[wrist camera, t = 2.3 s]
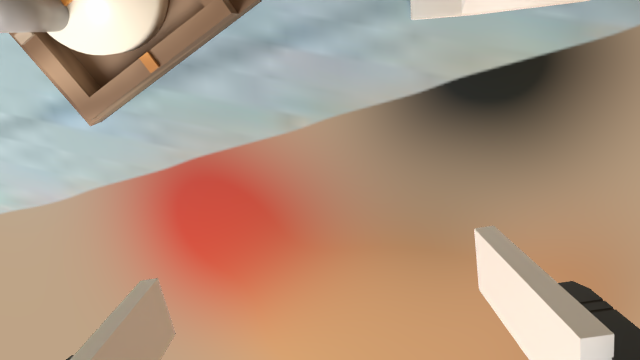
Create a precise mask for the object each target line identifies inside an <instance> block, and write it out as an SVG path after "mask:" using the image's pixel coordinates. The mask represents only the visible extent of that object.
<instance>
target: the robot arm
mask: <svg viewBox="0 0 640 360" xmlns="http://www.w3.org/2000/svg"><path fill="white" fill-rule="evenodd" d="M474 231H475V244H476V257H477V269H478V283H479V290H480V291H481V293H482V294H483V296H484V297H485V298H486V300H487V301H488V303H489V304H490V305H491V307H492V308H493V310H494V311H495V312H496V314H497V315H498V317H499V318H500V319H501V321H502V322H503V324H504V325H505V326H506V328H507V329H508V331H509V332H510V333H511V335H512V336H513V338H514V339H515V340H516V342H517V343H518V345H519V346H520V347H521V349H522V350H523V352H524V353H525V354H526V356H527V357H528V359H529V360H640V329H639V328H638V327H636V326H635V325H634V324H633V323H631V322H630V321H629V320H628V319H627V318H625V317H624V316H623V315H622V314H620V313H619V312H618V311H617V310H614V309H613V307H612V306H610V305H609V304H608V303H607V302H605V301H603V299H602V298H601V297H599V296H598V295H597V294H596V293H594V292H593V291H592V290H591V289H589V288H587V287H585V286H582V285H580V284H578V283H576V282H573V281H570V282H563V283H557V282H556V281H555V280H554V279H552V278H551V277H550V276H549V275H548V274H547V273H546V272H545V271H544V270H542V269H541V268H540V267H539V266H538V265H537V264H536V263H535V262H533V261H532V260H531V259H530V258H529V257H528V256H527V255H526V254H525V253H524V252H522V251H521V250H520V249H519V248H518V247H517V246H516V245H515V244H514V243H512V242H511V241H510V240H509V239H508V238H507V237H506V236H505V235H503V234H502V233H501V232H500V231H499V230H498V229H497V228H496V227H495V226H489V227H482V228H476V229H474ZM175 334H176V333H175V330H174V327H173V324H172V321H171V318H170V315H169V311H168V308H167V305H166V302H165V299H164V296H163V293H162V290H161V286H160V283H159V280H158V278H156V279H149V280H143V281H140V282H139V283H138V284H137V285H136V287H135V288H134V289H133V290H132V291H131V292H130V293H129V294H128V295H127V296H126V298H125V299H124V300H123V301H122V302H121V303H120V304H119V305H118V307H117V308H116V309H115V310H114V311H113V312H112V313H111V314H110V315H109V317H108V318H107V319H106V320H105V321H104V322H103V323H102V324H101V325H100V327H99V328H98V329H97V330H96V331H95V332H94V333H93V334H92V336H91V337H90V338H89V339H88V340H87V341H86V342H85V343H84V345H83V346H82V347H81V348H80V349H79V350H78V351H77V352H76V353H75V355H72V356H70V357H69V358H68V359H66V360H161V359H162V357H163V355H164V353H165V352H166V350H167V348H168V347H169V345H170V343H171V341H172V340H173V338H174V336H175Z"/></svg>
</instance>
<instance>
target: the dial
mask: <svg viewBox="0 0 640 360" xmlns="http://www.w3.org/2000/svg"><path fill="white" fill-rule="evenodd" d="M167 8H168V0H0V33H20V32H47V33H48V34H49V35H50V36H52V37H53V38H54V39H56V40H57V41H58V42H60V43H61V44H63V45H65V46H67V47H69V48H71V49H73V50H76V51H78V52H82V53H85V54H91V55H110V54H118V53H125V52H130V51H133V50H136V49H138V48H140V47H142V46H143V45H145V44H146V43H148V42H149V41H150V40H151V39H152V38H153V37H154V36H155V34H156V33H157V32H158V31H159V29H160V27H161V25H162V23H163V21H164V18H165V16H166V12H167Z"/></svg>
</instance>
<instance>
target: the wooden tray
mask: <svg viewBox="0 0 640 360" xmlns="http://www.w3.org/2000/svg"><path fill="white" fill-rule="evenodd" d="M260 2H261V0H168V8H167V12H166V16H165V18H164V21H163V23H162V25H161V27H160V29H159V31H158V32H157V33H156V34H155V36H154V37H153V38H152V39H151V40H150V41H149V42H148V43H146V44H145V45H143V46H142V47H140V48H138V49H136V50H133V51H130V52H125V53H118V54H110V55H91V54H85V53H82V52H78V51H76V50H73V49H71V48H69V47H67V46H65V45H63V44H61V43H60V42H58V41H57V40H56V39H54V38H53V37H52V36H50V35H49V34H48V33H47V32H20V33H9V34H10V35H11V36H12V37H13V38H14V39H15V40H16V42H17V43H18V44H19V45H20V46H21V47H22V48H23V50H24V51H25V52H26V53H27V54H28V55H29V56H30V58H31V59H32V60H33V61H34V62H35V63H36V64H37V66H38V67H39V68H40V69H41V70H42V71H43V72H44V74H45V75H46V76H47V77H48V78H49V79H50V80H51V82H52V83H53V84H54V85H55V86H56V87H57V88H58V90H59V91H60V92H61V93H62V94H63V95H64V96H65V98H66V99H67V100H68V101H69V102H70V103H71V104H72V106H73V107H74V108H75V109H76V110H77V111H78V112H79V114H80V115H81V116H82V117H83V118H84V119H85V120H86V122H87V123H88V124H89V125H90V126H92V125H95V124H97V123H99V122H102V121H103V120H105V119H106V118H107V117H109V116H110V115H111V114H113V113H114V112H115V111H117V110H118V109H119V108H121V107H122V106H123V105H125V104H126V103H127V102H129V101H130V100H131V99H133V98H134V97H135V96H136V95H138V94H139V93H140V92H142V91H143V90H144V89H146V88H147V87H148V86H150V85H151V84H152V83H154V82H155V81H156V80H158V79H159V78H160V77H162V76H163V75H164V74H166V73H167V72H168V71H170V70H171V69H172V68H174V67H175V66H176V65H178V64H179V63H180V62H182V61H183V60H184V59H186V58H187V57H188V56H189V55H191V54H192V53H193V52H195V51H196V50H197V49H199V48H200V47H201V46H203V45H204V44H205V43H207V42H208V41H209V40H211V39H212V38H213V37H215V36H216V35H217V34H219V33H220V32H221V31H223V30H224V29H225V28H227V27H228V26H229V25H231V24H232V23H233V22H235V21H236V20H237V19H239V18H240V17H241V16H243V15H244V14H245V13H246V12H248V11H249V10H250V9H252V8H253V7H254V6H256V5H257V4H258V3H260Z"/></svg>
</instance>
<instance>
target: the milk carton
mask: <svg viewBox="0 0 640 360" xmlns="http://www.w3.org/2000/svg"><path fill="white" fill-rule="evenodd" d="M582 1H589V0H410V2H411V19H412V20H418V19H431V18H444V17H456V16H468V15H477V14H486V13H494V12H502V11H510V10H518V9H527V8H535V7H543V6H551V5H559V4H567V3H575V2H582Z"/></svg>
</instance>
